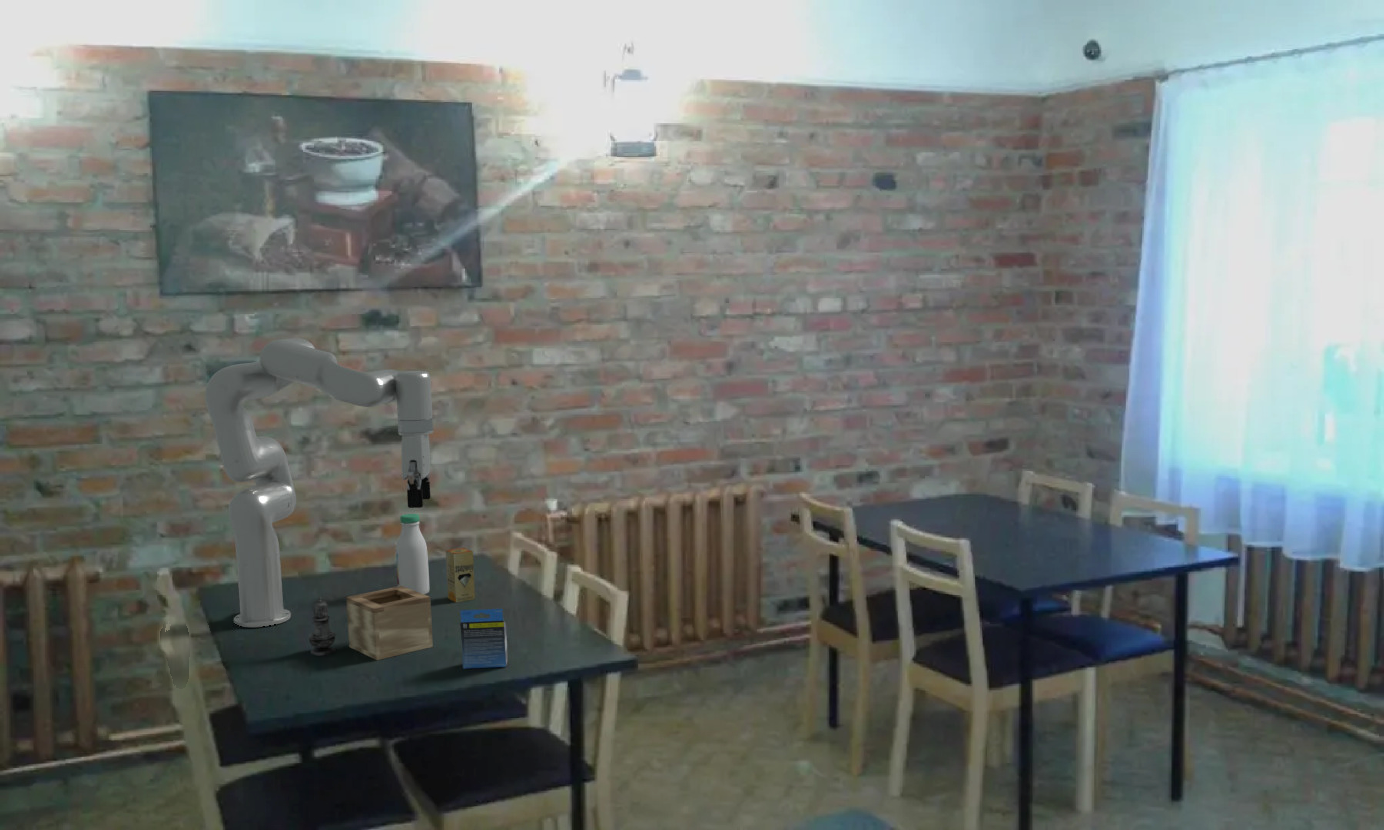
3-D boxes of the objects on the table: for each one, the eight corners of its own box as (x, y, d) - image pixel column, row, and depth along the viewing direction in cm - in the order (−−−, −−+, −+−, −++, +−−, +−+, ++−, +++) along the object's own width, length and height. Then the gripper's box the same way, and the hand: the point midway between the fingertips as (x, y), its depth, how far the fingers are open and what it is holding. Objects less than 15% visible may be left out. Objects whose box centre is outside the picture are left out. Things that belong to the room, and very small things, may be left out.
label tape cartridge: (508, 661, 255) (505, 603, 254) (506, 667, 251) (503, 608, 250) (464, 663, 255) (462, 604, 253) (462, 669, 251) (459, 609, 249)
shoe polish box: (475, 599, 304) (472, 551, 303) (456, 602, 301) (453, 554, 300) (466, 595, 308) (464, 547, 307) (448, 598, 306) (445, 550, 304)
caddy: (349, 646, 268) (346, 597, 266) (403, 634, 276) (401, 585, 275) (376, 660, 258) (374, 608, 257) (432, 646, 266) (430, 596, 265)
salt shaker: (329, 656, 262) (325, 600, 260) (303, 655, 263) (299, 600, 261) (342, 647, 267) (339, 593, 266) (317, 646, 268) (313, 592, 267)
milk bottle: (436, 591, 312) (432, 513, 310) (413, 599, 305) (409, 519, 303) (413, 588, 316) (409, 511, 314) (391, 595, 310) (387, 516, 307)
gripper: (405, 422, 282) (409, 496, 284) (390, 432, 265) (394, 511, 267) (438, 421, 283) (442, 495, 285) (426, 431, 265) (429, 510, 268)
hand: (419, 503), depth 276 cm, fingers open, 9 cm apart
